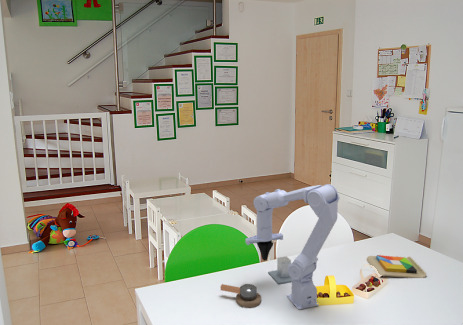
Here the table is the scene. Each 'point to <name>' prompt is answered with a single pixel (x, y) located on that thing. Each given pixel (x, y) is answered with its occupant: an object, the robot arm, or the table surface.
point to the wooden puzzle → (396, 266)
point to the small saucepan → (242, 291)
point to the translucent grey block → (283, 266)
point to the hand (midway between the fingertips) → (264, 259)
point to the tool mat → (279, 278)
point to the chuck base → (248, 303)
